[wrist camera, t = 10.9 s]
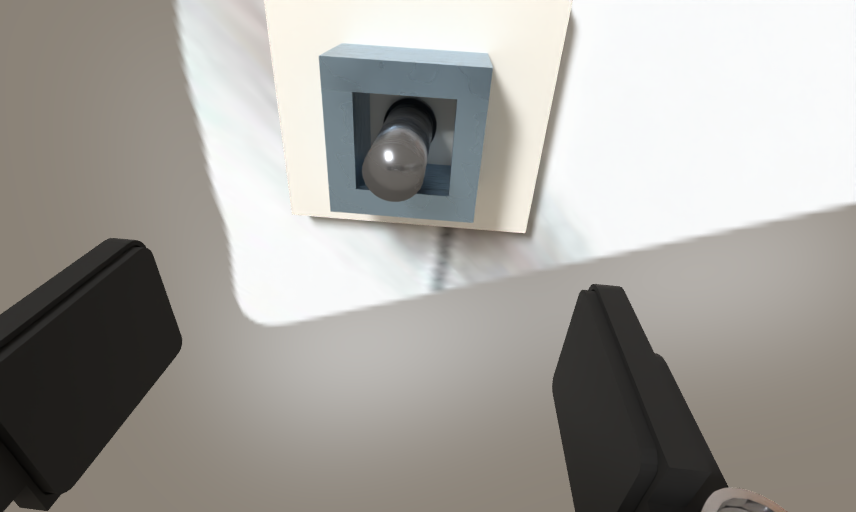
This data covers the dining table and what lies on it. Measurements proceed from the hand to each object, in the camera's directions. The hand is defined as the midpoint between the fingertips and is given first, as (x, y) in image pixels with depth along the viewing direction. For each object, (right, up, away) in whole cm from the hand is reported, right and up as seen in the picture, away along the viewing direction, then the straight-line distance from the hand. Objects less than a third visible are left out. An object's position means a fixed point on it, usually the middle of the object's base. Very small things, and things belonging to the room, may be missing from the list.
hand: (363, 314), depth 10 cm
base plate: (+1, +9, +14) cm, 17 cm away
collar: (+1, +8, +13) cm, 15 cm away
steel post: (+1, +8, +13) cm, 15 cm away
